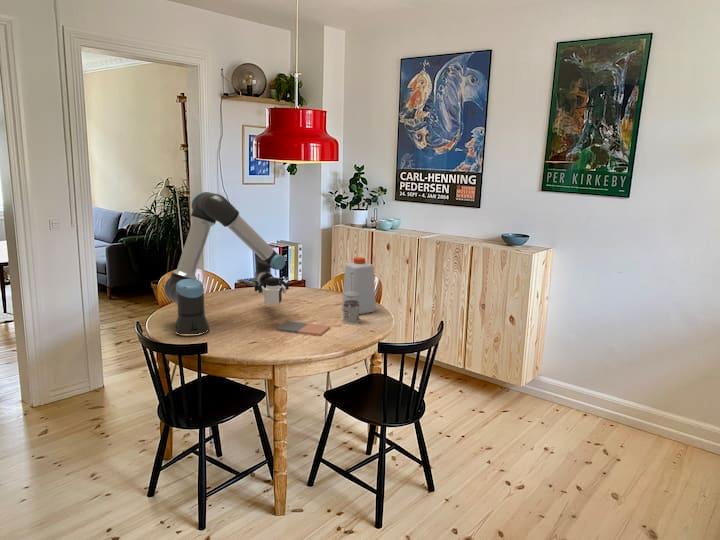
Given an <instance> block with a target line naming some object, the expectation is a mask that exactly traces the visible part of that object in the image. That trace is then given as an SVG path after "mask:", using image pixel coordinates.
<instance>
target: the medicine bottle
mask: <svg viewBox="0 0 720 540" xmlns="http://www.w3.org/2000/svg"><path fill="white" fill-rule="evenodd" d="M279 281H280V278H279V277H276V276H273V277H269V278H267V279H266V288H265V295H263V302H264V305H280V304H281V302H282V298H283V297H282V294H283V292H282V287H281V286H279Z"/></svg>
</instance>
